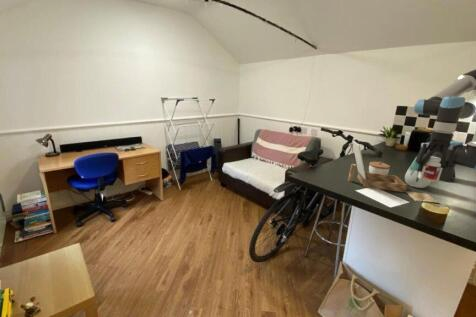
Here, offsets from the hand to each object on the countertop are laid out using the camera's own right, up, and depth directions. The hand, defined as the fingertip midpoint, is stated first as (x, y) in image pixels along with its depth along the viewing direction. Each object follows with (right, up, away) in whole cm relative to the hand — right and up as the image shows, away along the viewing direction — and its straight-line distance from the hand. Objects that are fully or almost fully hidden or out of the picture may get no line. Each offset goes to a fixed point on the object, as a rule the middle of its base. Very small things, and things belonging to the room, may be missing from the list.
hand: (427, 178), depth 110 cm
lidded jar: (-6, -1, +30) cm, 31 cm away
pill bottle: (0, 0, 0) cm, 0 cm away
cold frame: (-16, -4, +18) cm, 24 cm away
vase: (+8, -6, +18) cm, 21 cm away
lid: (-25, +10, +16) cm, 31 cm away
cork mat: (0, -10, +3) cm, 10 cm away
